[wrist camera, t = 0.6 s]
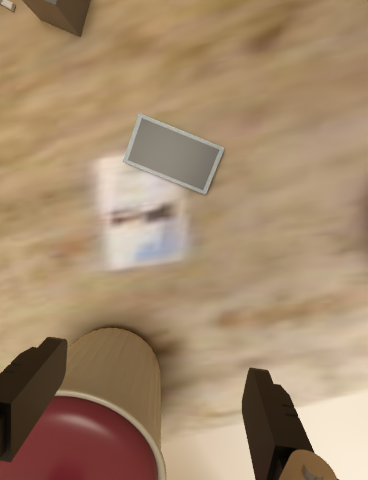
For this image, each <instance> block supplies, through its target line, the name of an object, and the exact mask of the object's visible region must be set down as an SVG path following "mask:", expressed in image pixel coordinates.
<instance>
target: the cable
mask: <svg viewBox="0 0 368 480" xmlns="http://www.w3.org/2000/svg"><path fill="white" fill-rule="evenodd" d="M0 4H1V5H3V6H4V7H6V8H7V9H9V10H11V11H13V12H14V9H15V5H14V4H13V3H12V2H10V1H8V0H0Z"/></svg>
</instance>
